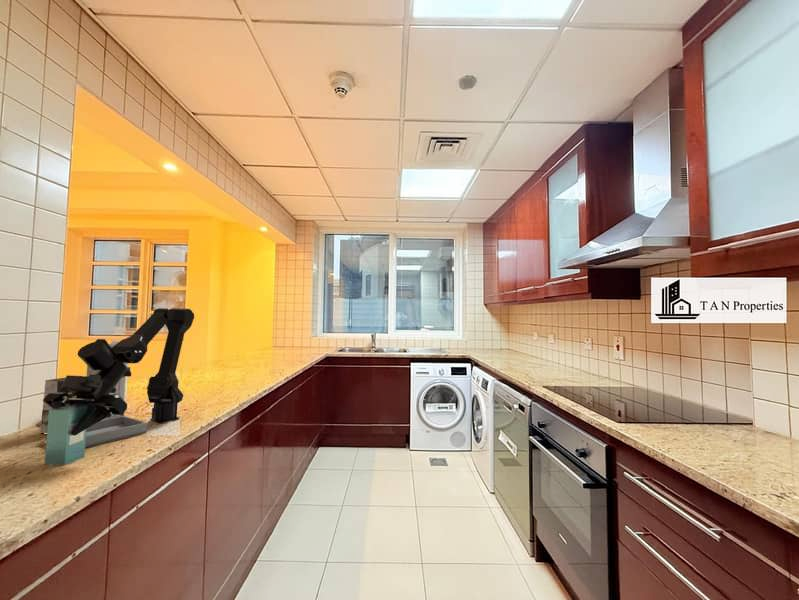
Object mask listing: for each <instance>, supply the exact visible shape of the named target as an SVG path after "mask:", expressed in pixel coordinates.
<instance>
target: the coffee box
mask: <svg viewBox="0 0 799 600" xmlns="http://www.w3.org/2000/svg"><path fill="white" fill-rule="evenodd" d="M86 377H88V376H86ZM65 378H66V377H60V378H53V379H45V381H44V382H45V383H44V391H43V392H44V394H43V399H44V398H45V397H46V396H47V395H48V394H49V393H53V392H60V393H67V394H68V395H69V396H70V397H72V398H76V397H77V396H76V395H73V394H72V392H73V390H69V389H62V388H61V386H62V384H63V382H64V380H65ZM42 401H43V400H42ZM50 409H53V408H51V407H50V406H49V405H48V404H46V403H45V402H44V401H43V402H42V411H41V421H40V428H39V429H40V430H39V433H40V432H41V433H47V429H48V417H49V410H50Z"/></svg>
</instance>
